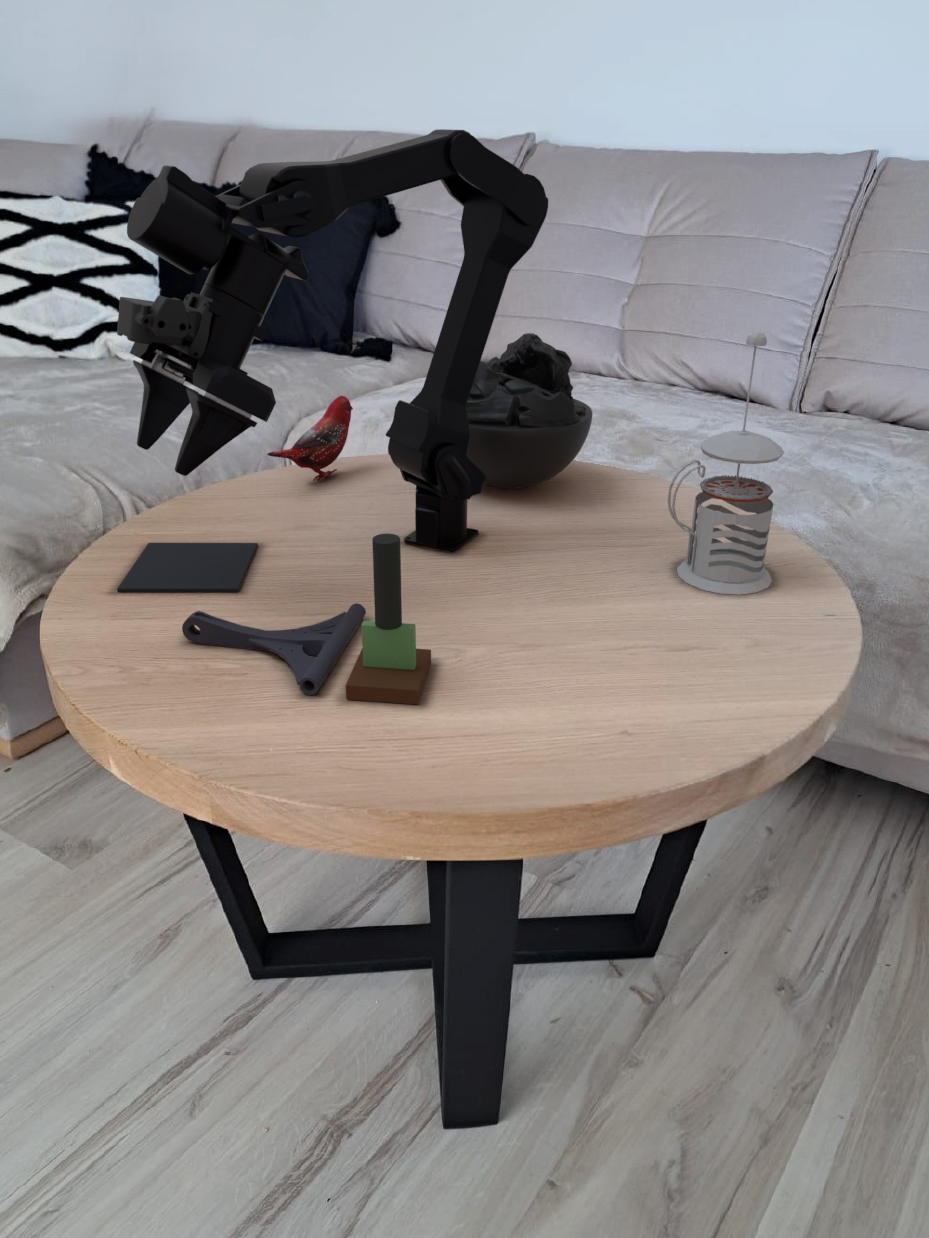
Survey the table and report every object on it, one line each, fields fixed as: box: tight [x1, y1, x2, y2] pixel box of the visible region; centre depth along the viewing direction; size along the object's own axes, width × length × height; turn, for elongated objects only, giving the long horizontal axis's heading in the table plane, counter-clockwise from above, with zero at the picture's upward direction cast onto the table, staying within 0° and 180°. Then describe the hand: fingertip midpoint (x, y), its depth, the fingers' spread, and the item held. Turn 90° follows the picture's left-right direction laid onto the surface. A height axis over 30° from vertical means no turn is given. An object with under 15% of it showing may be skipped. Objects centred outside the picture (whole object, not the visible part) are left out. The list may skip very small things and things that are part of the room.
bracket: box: [181, 602, 367, 696], centre depth 89 cm, size 14×15×3 cm
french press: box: [667, 331, 785, 596], centre depth 99 cm, size 10×12×25 cm
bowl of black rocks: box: [466, 332, 594, 489], centre depth 126 cm, size 20×20×19 cm
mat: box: [116, 542, 259, 593], centre depth 105 cm, size 12×12×1 cm
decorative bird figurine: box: [266, 395, 354, 482], centre depth 127 cm, size 3×18×10 cm, turn 150°
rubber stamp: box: [345, 533, 432, 705], centre depth 81 cm, size 7×6×13 cm
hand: (160, 460), depth 89 cm, fingers open, 9 cm apart
